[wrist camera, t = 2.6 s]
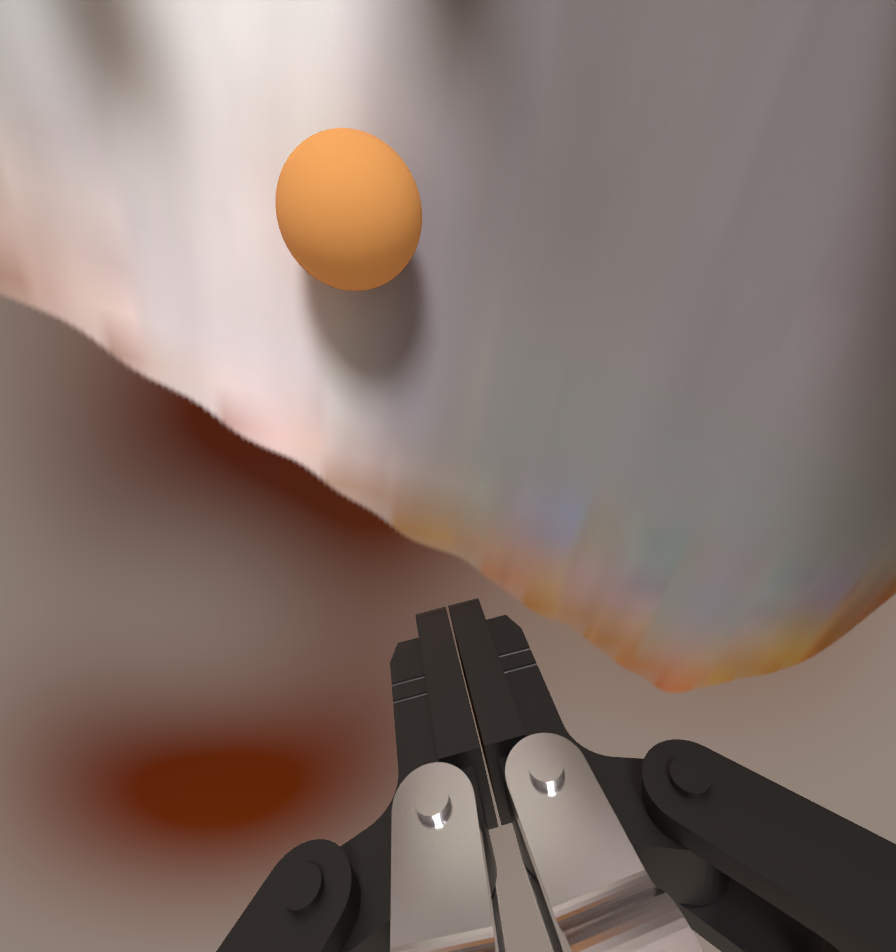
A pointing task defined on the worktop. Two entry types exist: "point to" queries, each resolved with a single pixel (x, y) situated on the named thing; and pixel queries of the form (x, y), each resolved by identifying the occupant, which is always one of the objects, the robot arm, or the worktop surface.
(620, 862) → the robot arm
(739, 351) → the worktop surface
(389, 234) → the ball
